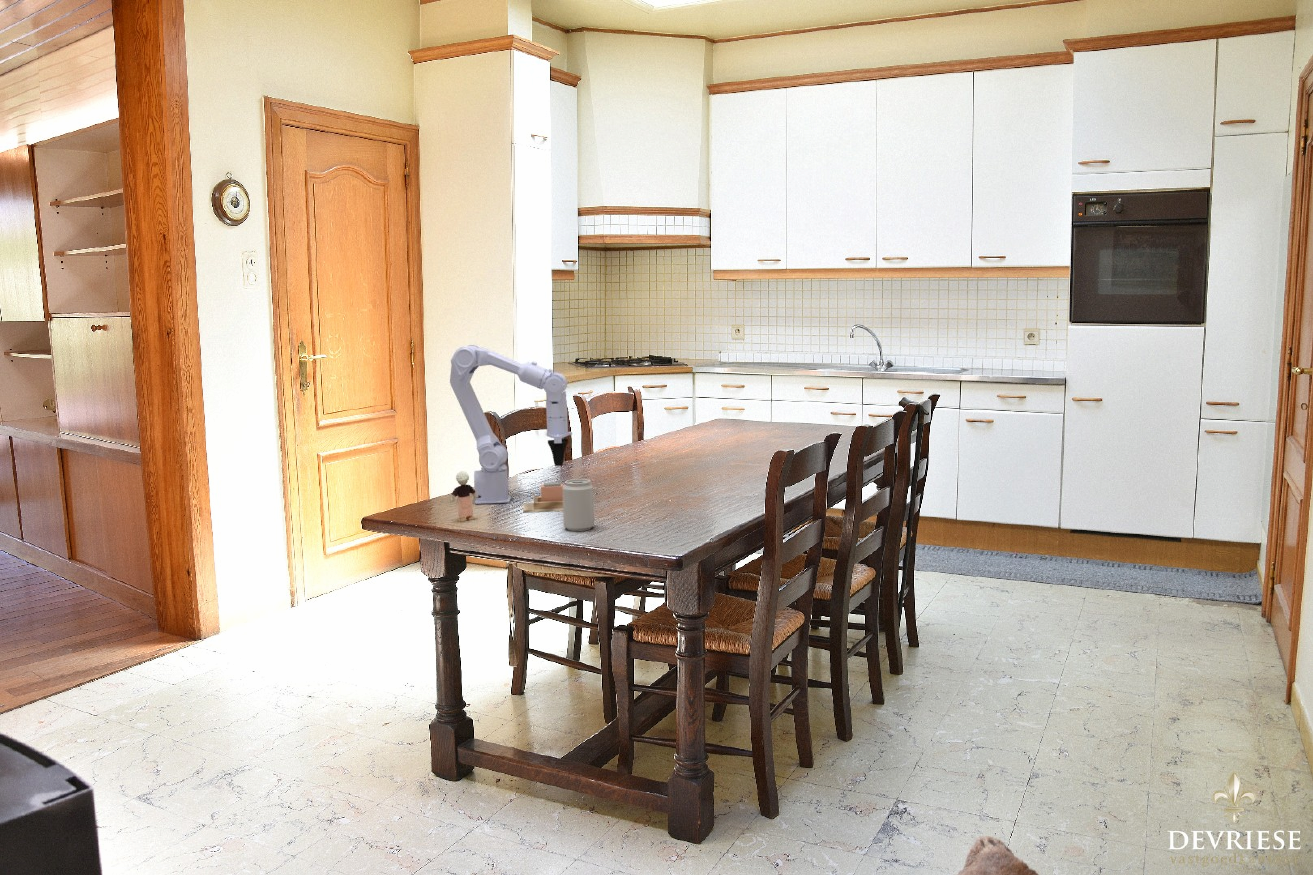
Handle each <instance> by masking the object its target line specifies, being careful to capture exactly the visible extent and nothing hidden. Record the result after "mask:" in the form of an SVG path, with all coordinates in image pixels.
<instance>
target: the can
mask: <svg viewBox="0 0 1313 875" xmlns="http://www.w3.org/2000/svg"><path fill="white" fill-rule="evenodd" d="M562 491H563V511H562V514H563V515H562V517H563V526H564V528H565V529H566V530H568V531H572V532H583V531H589V530H591V529H592V527H594V525H595V509H594V508H595V504H594V501H595V500H594V486H593V485H592V484H591V480H590V479H586V478H571V479H567V480H565V481H564V484H563V488H562Z"/></svg>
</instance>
